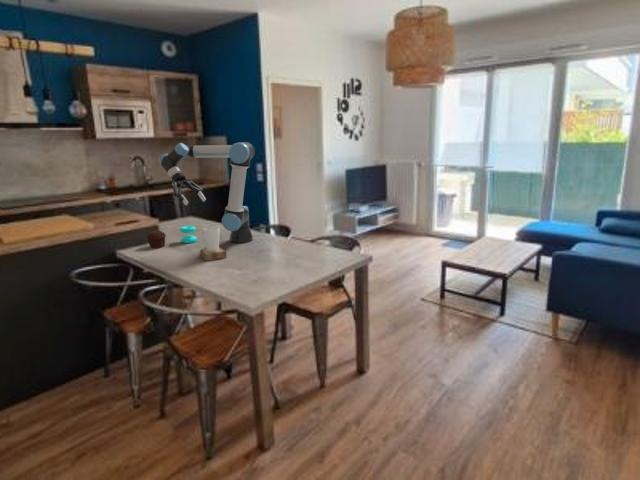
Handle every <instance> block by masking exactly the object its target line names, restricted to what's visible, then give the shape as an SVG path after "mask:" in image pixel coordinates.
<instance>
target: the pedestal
mask: <svg viewBox="0 0 640 480" xmlns="http://www.w3.org/2000/svg"><path fill="white" fill-rule="evenodd" d="M199 250H200V249H199ZM199 253H200V257H201V258H202V259H203V260H204V261H205V262H208V261H209V262H210V261H216V260H222V259H226V258H227V252H226V251H225V250H224V249H223V248H222V247H220V246H219V250H218V251H214V252H209V251H208V250H207V248H201V250H200V251H199Z"/></svg>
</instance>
